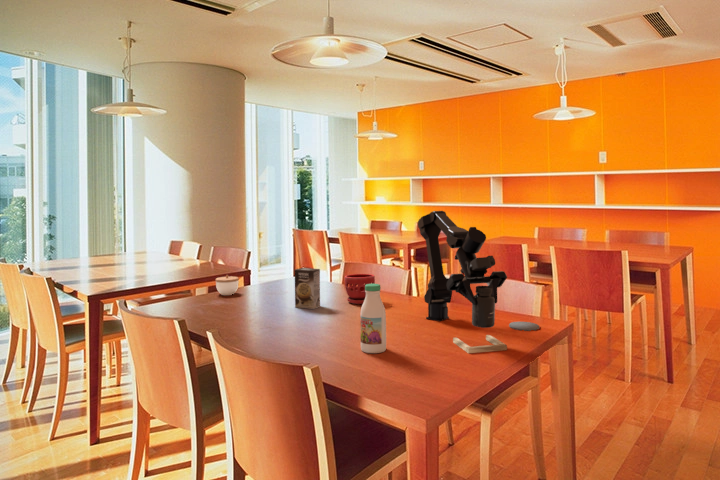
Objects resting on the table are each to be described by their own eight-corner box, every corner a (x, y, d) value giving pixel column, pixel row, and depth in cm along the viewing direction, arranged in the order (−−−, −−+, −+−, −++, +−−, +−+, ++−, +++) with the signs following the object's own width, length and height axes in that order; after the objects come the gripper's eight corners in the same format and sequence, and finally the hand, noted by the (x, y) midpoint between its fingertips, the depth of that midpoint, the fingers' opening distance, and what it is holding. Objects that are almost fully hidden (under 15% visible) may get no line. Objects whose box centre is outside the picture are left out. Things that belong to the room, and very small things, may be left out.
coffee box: (294, 307, 206) (293, 269, 205) (302, 304, 212) (301, 267, 211) (313, 309, 203) (313, 270, 201) (321, 305, 209) (320, 268, 207)
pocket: (453, 342, 155) (453, 337, 155) (489, 339, 157) (489, 334, 157) (468, 353, 144) (468, 348, 144) (506, 350, 146) (507, 345, 146)
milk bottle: (369, 344, 154) (369, 281, 152) (391, 348, 149) (390, 283, 147) (355, 351, 147) (354, 285, 146) (377, 355, 143) (376, 287, 141)
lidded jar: (212, 296, 233) (211, 276, 232) (222, 291, 243) (221, 273, 242) (233, 296, 231) (232, 276, 230) (242, 292, 241) (242, 273, 240)
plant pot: (380, 300, 217) (380, 274, 216) (364, 306, 206) (364, 278, 205) (355, 297, 224) (355, 271, 223) (339, 303, 213) (338, 276, 212)
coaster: (504, 327, 171) (504, 326, 171) (515, 321, 179) (515, 320, 178) (533, 332, 164) (533, 330, 164) (543, 326, 172) (543, 324, 172)
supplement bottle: (495, 328, 148) (496, 289, 146) (472, 327, 149) (473, 288, 147) (493, 322, 154) (493, 284, 153) (471, 321, 155) (471, 284, 154)
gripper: (450, 248, 150) (467, 290, 141) (504, 245, 155) (524, 286, 146) (439, 269, 159) (454, 311, 149) (491, 266, 164) (508, 306, 154)
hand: (485, 303), depth 149 cm, fingers closed on supplement bottle, 7 cm apart
